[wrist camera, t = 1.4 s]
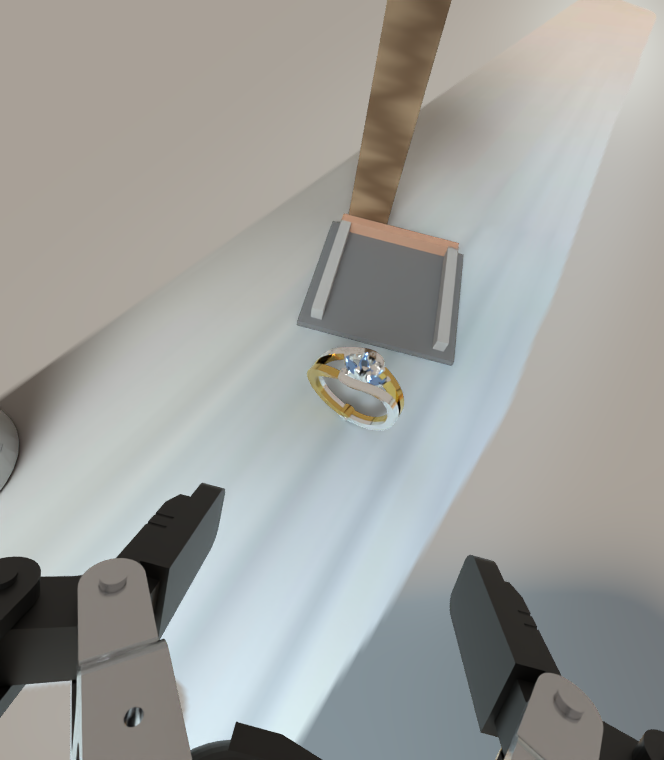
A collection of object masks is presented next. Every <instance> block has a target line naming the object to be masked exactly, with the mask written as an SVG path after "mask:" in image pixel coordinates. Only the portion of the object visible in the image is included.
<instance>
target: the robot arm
mask: <svg viewBox="0 0 664 760" xmlns="http://www.w3.org/2000/svg"><path fill="white" fill-rule="evenodd" d="M18 448H19V439H18V434H17V429H16V427H15V426H14V424H13V422H12V420H11V419H10V418H9V417H8V416H7V415H6V414H5V413H4V412H3V411H2V410H0V490H1V489H2V487H3V486H4V485H5V483H6V482H7V480H8V478H9V476H10V474H11V473H12V471H13V469H14V466H15V463H16V460H17V456H18ZM224 496H225V489H224V488H220V487H216V486H212V485H209V484H205V483H201V484H200V485H199V487H198V488H197V489H196V490H195V492H194V493H193V494H192V496H191V497H189V496H186V495H182V494H180V495H178V496H176V497H174V498H172V499H170V500H168V501H166V502H165V503H164V504H163V505H162V507H161V508H160V509H159V510H158V511H157V512H156V515H154V516H153V517H152V518H151V519H150V520H149V521H148V524H146V525H145V526H144V527H143V528H142V529H141V530H140V531H139V533H138V534H137V535H136V536H135V537H134V538H133V539H132V540H131V542H130V543H129V544H128V545H127V546H126V547H125V548H124V550H123V551H122V552H121V553H120V554H119V555H118V556H117V557H116V558H115V559H109V560H105V561H102V562H100V563H98V564H96V565H94V566H92V567H91V568H89V569H88V570H87V571H86V572H85V573H84V574H83V575H80V576H58V577H41V569H40V566H39V565H38V563H36V562H35V561H34V560H32V559H29V558H25V557H6V558H1V559H0V717H1V716H2V715H3V713H4V712H5V711H6V709H7V708H8V707H9V705H10V704H11V703H12V702H13V700H14V699H15V698H16V696H17V695H18V694H19V692H20V691H21V690H22V688H23V687H24V686H25V684H34V683H46V682H58V681H69V680H71V681H70V686H71V687H70V694H71V695H70V760H322V759H320V758H319V757H317V756H315V755H314V754H312V753H311V752H309V751H308V750H306V749H304V748H303V747H301V746H300V745H298V744H296V743H295V742H293V741H292V740H290V739H288V738H287V737H285V736H284V735H282V734H279V733H275V732H271V731H268V730H264V729H260V728H257V727H253V726H249V725H246V724H242V723H238V722H236V724H235V727H234V731H233V734H232V738H231V740H223V741H217V742H212V743H207V744H205V745H202V746H199V747H196V748H194V749H192V750H190V747H189V742H188V737H187V733H186V728H185V723H184V719H183V714H182V709H181V705H180V700H179V695H178V691H177V686H176V681H175V676H174V672H173V667H172V662H171V658H170V653H169V649H168V645H167V642H166V640H165V639H161V640H160V638H161V636H162V635H163V633H164V631H165V629H166V628H167V626H168V624H169V622H170V620H171V619H172V617H173V615H174V613H175V612H176V610H177V608H178V606H179V604H180V603H181V601H182V599H183V597H184V596H185V594H186V592H187V590H188V589H189V587H190V585H191V583H192V581H193V580H194V578H195V576H196V574H197V573H198V571H199V569H200V567H201V566H202V564H203V562H204V560H205V558H206V557H207V555H208V553H209V551H210V550H211V548H212V545H213V543H214V540H215V538H216V535H217V531H218V527H219V521H220V516H221V511H222V506H223V501H224ZM450 615H451V619H452V623H453V626H454V630H455V634H456V638H457V642H458V646H459V650H460V654H461V658H462V662H463V665H464V669H465V673H466V677H467V681H468V685H469V689H470V692H471V697H472V700H473V704H474V708H475V712H476V716H477V720H478V723H479V727H480V731H481V733H485V734H489V735H493V736H496V737H499V740H500V744H501V749H500V751H499V753H498V755H497V756H496V759H495V760H664V732H662V731H658V730H652V729H651V730H648V731H646V732H645V734H644V735H643V737H642V738H641V739H640V741H637V740H635V739H634V738H632V737H630V736H628V735H627V734H625V733H623V732H621V731H619V730H618V729H616V728H614V727H612V726H610V725H609V724H607V723H605V722H603V721H602V719H601V716H600V714H599V712H598V710H597V709H596V707H595V706H594V704H593V703H592V701H591V700H590V699H589V698H588V697H587V696H586V695H585V693H584V692H583V691H582V690H581V689H579V688H578V687H577V686H576V685H574V684H573V683H572V682H570V681H569V680H567V679H566V678H564V677H562V676H561V674H560V672H559V670H558V668H557V666H556V664H555V662H554V660H553V658H552V656H551V654H550V652H549V650H548V648H547V646H546V644H545V642H544V640H543V638H542V636H541V634H540V632H539V630H537V626H536V624H535V622H534V620H533V618H532V617H531V616H530V612H529V610H528V608H527V606H526V604H525V602H524V600H523V598H522V597H521V595H520V594H519V593H518V592H517V591H516V590H515V588H514V587H513V586H512V585H511V584H510V583H509V582H505V581H504V580H503V578H502V575H501V573H500V571H499V569H498V567H497V565H496V563H495V562H494V561H491V560H488V559H484V558H480V557H476V556H473V555H469V556H467V558H466V559H465V562H464V564H463V567H462V569H461V571H460V574H459V576H458V579H457V581H456V584H455V586H454V589H453V591H452V593H451V598H450Z"/></svg>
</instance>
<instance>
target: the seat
mask: <svg viewBox="0 0 664 760" xmlns="http://www.w3.org/2000/svg"><path fill="white" fill-rule="evenodd" d="M458 245H459V243H456V242H452V241H448V240H444V239H440V238H437V237H433V236H429V235H425V234H421V233H417V232H413V231H410V230H406V229H402V228H398V227H394V226H390V225H386V224H383V223H379V222H375V221H371V220H367V219H363V218H359V217H356V216H352V215H348V214H343V217H342V220H341V223H339V222H335V221H333V222H332V225H331V228H330V230H329V233H328V236H327V239H326V242H325V244H324V247H323V250H322V253H321V256H320V258H319V261H318V264H317V267H316V270H315V272H314V275H313V278H312V281H311V284H310V286H309V289H308V292H307V295H306V298H305V300H304V303H303V306H302V309H301V312H300V314H299V317H298V320H297V325H299V326H303V327H306V328H310V329H314V330H318V331H322V332H325V333H329V334H333V335H337V336H341V337H344V338H348V339H352V340H356V341H360V342H363V343H367V344H371V345H375V346H379V347H382V348H386V349H390V350H394V351H398V352H402V353H405V354H409V355H413V356H417V357H421V358H424V359H428V360H432V361H436V362H440V363H443V364H447V365H452V364H453V363H454V355H455V344H456V333H457V321H458V310H459V299H460V287H461V276H462V265H463V255H462V254H459V253H458Z"/></svg>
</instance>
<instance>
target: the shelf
mask: <svg viewBox="0 0 664 760" xmlns="http://www.w3.org/2000/svg"><path fill="white" fill-rule="evenodd" d="M450 4H451V0H387V5H386V11H385V16H384V22H383V27H382V33H381V38H380V44H379V50H378V56H377V61H376V67H375V72H374V77H373V83H372V89H371V94H370V99H369V105H368V110H367V116H366V122H365V127H364V133H363V138H362V144H361V149H360V155H359V160H358V166H357V172H356V177H355V183H354V188H353V194H352V199H351V205H350V210H349V215H352V216H356V217H359V218H363V219H367V220H371V221H375V222H379V223H383V224H386V225H387V222H388V218H389V215H390V211H391V208H392V205H393V201H394V198H395V194H396V191H397V187H398V184H399V180H400V177H401V173H402V170H403V166H404V163H405V160H406V156H407V153H408V149H409V146H410V142H411V139H412V135H413V132H414V128H415V125H416V121H417V118H418V115H419V111H420V108H421V104H422V101H423V97H424V94H425V90H426V87H427V83H428V80H429V76H430V73H431V69H432V66H433V63H434V59H435V56H436V52H437V49H438V45H439V42H440V38H441V35H442V31H443V28H444V25H445V21H446V18H447V14H448V11H449V7H450Z"/></svg>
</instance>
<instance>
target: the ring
mask: <svg viewBox="0 0 664 760" xmlns="http://www.w3.org/2000/svg"><path fill="white" fill-rule="evenodd" d="M343 359H344V360H345V366H346V368H342V369H341V370H338V369H335V368H333V367H330V366H328V365H325V364H327V363H329V362H331V361H335V360H343ZM350 359H355V360H360V362H359V365H358V366H357V365H356V363H355V362H353V361H351V360H350ZM369 362H371V364H370V366H369ZM323 376H324V377H330V378H335V379H339V381H341V382H342V383H344V384H345V385H347V386H348V387H351V388H353V389H356V390H359V391H362V392H364V393H367V394H369V395H372V396H374V397H376V398H377V399H379V400H380V401H381V402H382V403H383V404H384V405H385V407H386V409H387V414H386V415H384V416H381V417H371V416H367V415H364V414H361V413H359V412H357V411H355V409H354V408H353V407H352V406H351V405H349V404H347V403H346V404H344V403H343V402H342V401H341V400H340V399H338V398H337V397H336V396H335V395H334V394H333V393H332V391H331V390H330V389H329V388H328V386H327V385H326V383H325V381H324V379H323ZM307 377H308V380H309V382H310V384H311V386H312V387H313V389H314V390H315V392H316V393H317V394H318V395H319V396H320V398H321V399H322V400H323V401H324V402H325V403H326V404H327V405H328V406H330V407H331V408H332V409H333V410H334V411H335V412H337V413H338V414H339V416H340V417H341V418H342V419H344V420H345V421H350V422H352V423H353V424H355V425H358V426H360V427H362V428H365V429H369V430H374V431H383V430H387V429H389V428H391V427H392V426H393V424H394V423H395V422H396V420H397V419H398V417H399V415H400V414H401V412H402V410H403V407H404V397H403V393H402V390H401V388H400V386H399V384H398V382H397V381H396V379H395V378H394V376H393V375H392V374H391V373H390V371H389V370H388V369H387V368H386V367H385V361H384V359H383V357H382V356H381V355H380V354H379V353H377V352H376V351H374V350H371V349H367V348H360V347H340V348H334V349H330V350H328V351H326V352H325V353H323V354H322V355H321V356H320V357H319V358H318V359H317V360H316V361H315V363H314V364H313V365H312V367H311V368H310V369H309V370H308V372H307ZM353 378H354V379H353ZM356 379H357V380H356ZM359 379H360V380H361V381H359ZM382 386H383V387H384V388H385V390H386V391H384V390H382V389H380V387H382ZM378 387H379V388H378Z"/></svg>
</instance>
